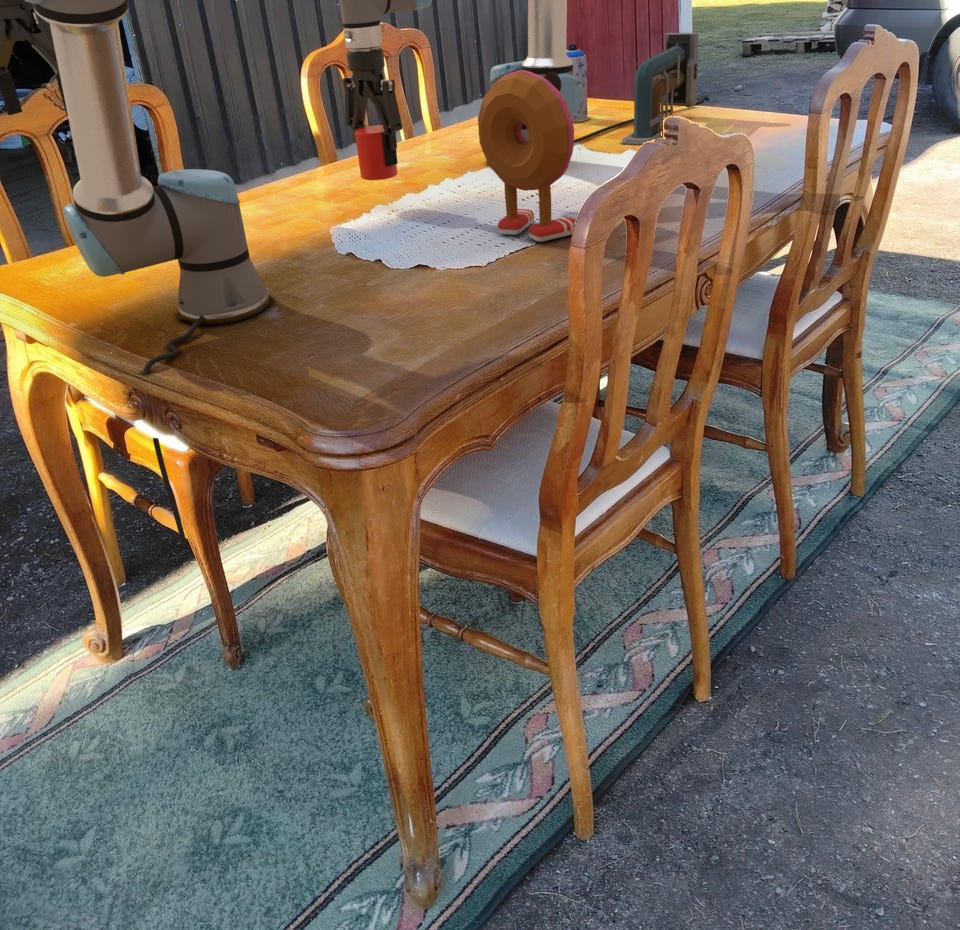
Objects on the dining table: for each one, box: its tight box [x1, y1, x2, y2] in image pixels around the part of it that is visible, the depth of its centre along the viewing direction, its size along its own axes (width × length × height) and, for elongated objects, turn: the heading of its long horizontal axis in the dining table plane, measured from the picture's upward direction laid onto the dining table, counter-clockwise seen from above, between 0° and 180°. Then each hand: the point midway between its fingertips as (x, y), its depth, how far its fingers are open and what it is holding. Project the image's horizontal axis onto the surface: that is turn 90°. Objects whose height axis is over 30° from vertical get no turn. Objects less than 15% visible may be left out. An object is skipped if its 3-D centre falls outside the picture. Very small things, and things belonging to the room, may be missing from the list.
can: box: [354, 124, 398, 181], centre depth 207 cm, size 8×8×10 cm
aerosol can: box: [566, 43, 589, 123], centre depth 273 cm, size 8×8×20 cm
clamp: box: [621, 32, 699, 145], centre depth 254 cm, size 35×9×21 cm, turn 151°
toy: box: [477, 70, 577, 243], centre depth 182 cm, size 21×10×30 cm, turn 47°
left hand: (44, 113), depth 170 cm, fingers open, 13 cm apart
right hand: (378, 162), depth 208 cm, fingers closed on can, 8 cm apart
